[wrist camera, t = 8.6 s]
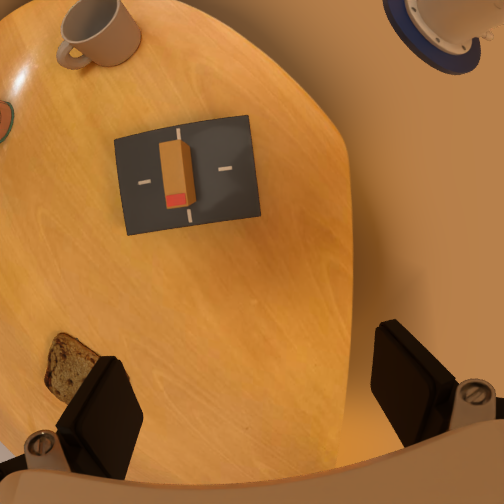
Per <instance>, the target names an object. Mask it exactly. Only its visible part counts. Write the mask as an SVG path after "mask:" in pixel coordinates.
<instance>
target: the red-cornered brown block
mask: <svg viewBox="0 0 504 504" xmlns="http://www.w3.org/2000/svg"><path fill="white" fill-rule="evenodd" d="M159 150H160V159H161V168H162V176H163V184H164V192H165V199H166V207H167V209H172V208H179V207H185V206H189V205H191V204H193V203H194V202H196V194H195V186H194V178H193V170H192V161H191V152H190V146H189V145H187V144H186V143H185V142H183V141H182V140H180V139H179V140H173V141H167V142H162V143H159Z"/></svg>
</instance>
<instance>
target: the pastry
mask: <svg viewBox="0 0 504 504" xmlns="http://www.w3.org/2000/svg"><path fill="white" fill-rule="evenodd" d="M99 358H100V357H99V356H97V355H96V354H95V353H94V352H92V351H91V350H90V349H89V348H87V347H84V346H83V345H81V343H80V342H79V341H78V338H76V339H73V338H71V337H69V336H68V335H66V334H63V333H62V334H59V335H57V336H56V337H55V339H54V340H53V343H52V345H51V347H50V350H49V355H48V364H47V370H46V374H45V378H44V383H45V385H46V386H47V388H48V389H49V390H50V392H51V393H53V394H54V395H55V396H56V397H57V398H58V399H59V400H60V401H63V402H65V403H66V404H67V405H68V404H69V403H70V401H71V400H72V398H73V397H74V395H75V394H76V392H77V390H78V389H79V387H80V386H81V384H82V383H83V381H84V380H85V378H86V377H87V375H88V374H89V372H90V371H91V369H92V368H93V366H94V365H95V363H96V362H97V360H98V359H99ZM127 377H128V376H127ZM128 379H129V377H128Z"/></svg>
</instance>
